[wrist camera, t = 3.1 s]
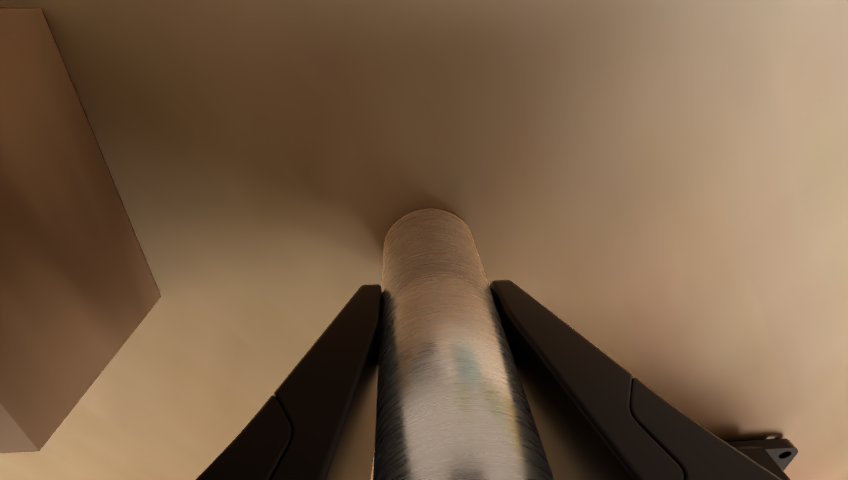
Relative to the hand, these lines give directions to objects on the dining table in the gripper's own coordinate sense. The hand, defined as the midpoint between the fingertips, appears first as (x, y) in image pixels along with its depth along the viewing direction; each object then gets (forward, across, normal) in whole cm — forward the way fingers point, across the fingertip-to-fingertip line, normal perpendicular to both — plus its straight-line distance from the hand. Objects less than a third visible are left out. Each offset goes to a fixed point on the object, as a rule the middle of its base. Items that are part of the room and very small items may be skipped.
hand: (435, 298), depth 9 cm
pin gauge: (+2, 0, 0) cm, 2 cm away
